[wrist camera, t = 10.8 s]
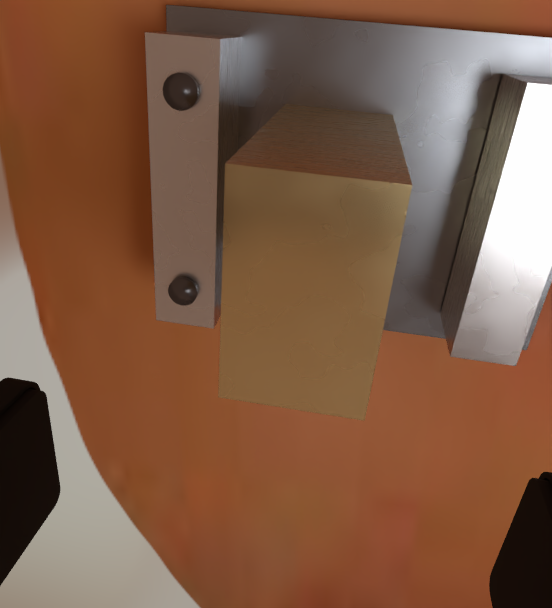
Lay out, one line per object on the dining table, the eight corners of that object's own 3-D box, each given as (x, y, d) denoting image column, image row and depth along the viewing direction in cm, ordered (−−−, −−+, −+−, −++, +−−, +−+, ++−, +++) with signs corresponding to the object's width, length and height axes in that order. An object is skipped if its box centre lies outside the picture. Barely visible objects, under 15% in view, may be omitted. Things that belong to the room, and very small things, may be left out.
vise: (625, 44, 23) (696, 49, 18) (521, 338, 30) (551, 400, 25) (174, 5, 25) (126, 1, 20) (179, 290, 32) (144, 339, 27)
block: (393, 114, 24) (412, 185, 14) (365, 272, 28) (364, 420, 18) (285, 104, 25) (224, 163, 14) (273, 260, 29) (218, 397, 18)
